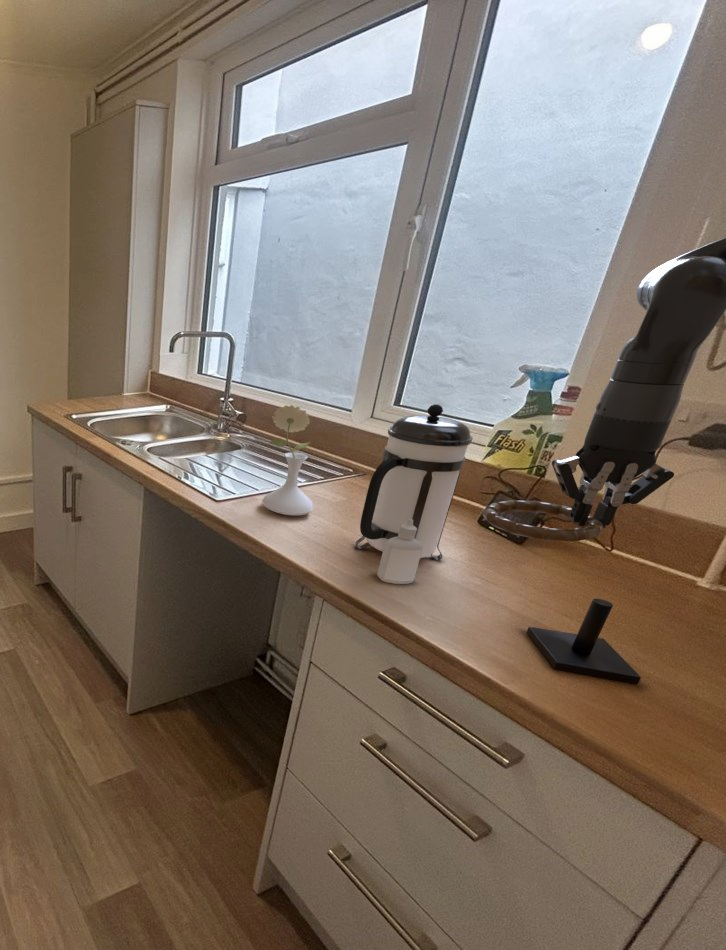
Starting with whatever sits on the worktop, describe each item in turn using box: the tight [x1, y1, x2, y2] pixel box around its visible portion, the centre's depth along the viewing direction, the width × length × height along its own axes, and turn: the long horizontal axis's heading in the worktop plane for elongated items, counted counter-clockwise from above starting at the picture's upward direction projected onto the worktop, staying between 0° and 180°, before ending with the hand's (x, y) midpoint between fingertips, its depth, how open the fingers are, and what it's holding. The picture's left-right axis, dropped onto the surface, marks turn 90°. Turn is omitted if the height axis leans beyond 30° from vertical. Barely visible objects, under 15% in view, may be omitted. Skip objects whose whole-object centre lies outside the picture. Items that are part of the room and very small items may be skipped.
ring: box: [482, 499, 603, 543], centre depth 82 cm, size 14×14×2 cm
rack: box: [526, 598, 642, 685], centre depth 74 cm, size 9×9×9 cm
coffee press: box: [355, 403, 473, 561], centre depth 99 cm, size 17×16×30 cm
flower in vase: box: [262, 404, 315, 516], centre depth 122 cm, size 13×11×25 cm
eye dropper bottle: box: [376, 519, 423, 585], centre depth 94 cm, size 4×6×12 cm
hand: (587, 525), depth 80 cm, fingers closed on ring, 2 cm apart
